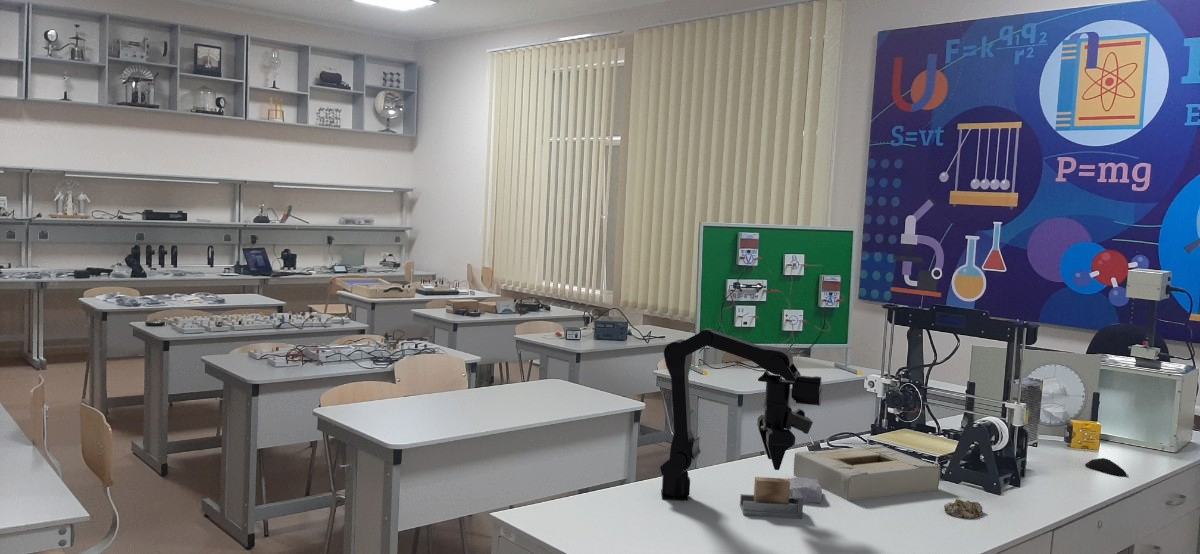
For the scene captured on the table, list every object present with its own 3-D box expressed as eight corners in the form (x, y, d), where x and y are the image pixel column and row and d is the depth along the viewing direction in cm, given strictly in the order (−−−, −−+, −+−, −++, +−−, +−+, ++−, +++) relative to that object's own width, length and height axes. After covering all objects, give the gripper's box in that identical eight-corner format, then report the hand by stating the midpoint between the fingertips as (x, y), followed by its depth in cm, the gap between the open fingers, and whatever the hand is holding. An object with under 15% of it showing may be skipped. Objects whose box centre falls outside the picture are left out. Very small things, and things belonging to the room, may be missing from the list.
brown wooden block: (754, 508, 212) (756, 480, 211) (753, 504, 215) (755, 476, 214) (788, 510, 211) (790, 482, 211) (786, 506, 214) (787, 478, 214)
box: (848, 504, 224) (940, 491, 238) (850, 474, 223) (941, 462, 237) (791, 478, 245) (878, 468, 259) (792, 451, 244) (880, 442, 258)
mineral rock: (961, 512, 213) (939, 493, 220) (955, 527, 214) (934, 508, 221) (995, 510, 216) (973, 492, 223) (990, 525, 218) (968, 506, 225)
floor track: (743, 515, 210) (744, 494, 209) (739, 505, 217) (740, 485, 216) (802, 518, 209) (803, 497, 209) (796, 508, 216) (797, 488, 216)
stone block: (785, 508, 222) (825, 504, 221) (782, 490, 222) (822, 485, 221) (780, 495, 234) (818, 491, 232) (778, 478, 234) (816, 473, 232)
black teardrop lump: (1126, 482, 255) (1127, 468, 255) (1080, 467, 269) (1081, 454, 268) (1140, 480, 258) (1141, 466, 257) (1094, 465, 271) (1095, 453, 271)
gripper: (819, 411, 201) (815, 477, 203) (803, 394, 220) (799, 455, 221) (770, 408, 202) (766, 475, 203) (758, 392, 220) (755, 453, 221)
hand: (773, 464), depth 212 cm, fingers open, 9 cm apart
